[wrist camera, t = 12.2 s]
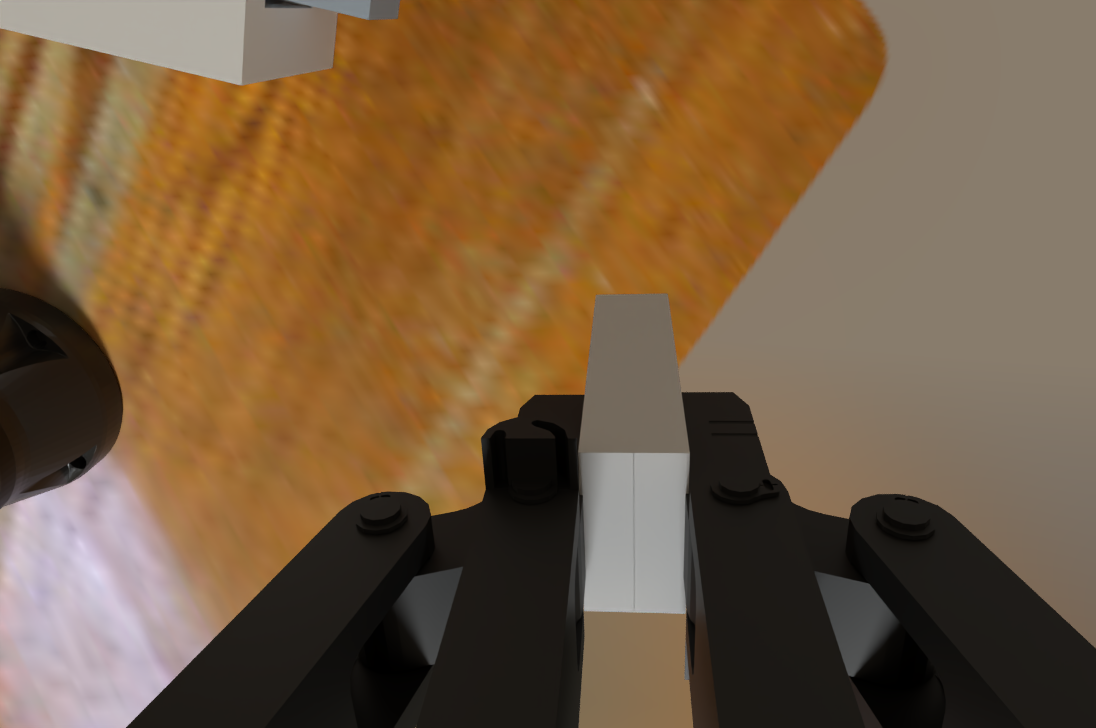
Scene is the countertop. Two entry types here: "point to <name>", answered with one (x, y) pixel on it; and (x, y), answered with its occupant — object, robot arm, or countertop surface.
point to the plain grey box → (189, 33)
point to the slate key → (358, 7)
